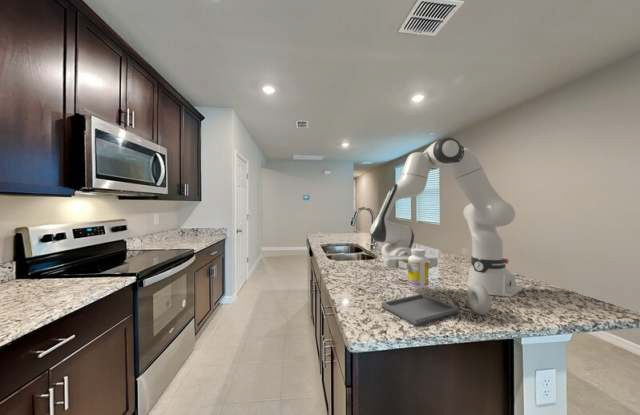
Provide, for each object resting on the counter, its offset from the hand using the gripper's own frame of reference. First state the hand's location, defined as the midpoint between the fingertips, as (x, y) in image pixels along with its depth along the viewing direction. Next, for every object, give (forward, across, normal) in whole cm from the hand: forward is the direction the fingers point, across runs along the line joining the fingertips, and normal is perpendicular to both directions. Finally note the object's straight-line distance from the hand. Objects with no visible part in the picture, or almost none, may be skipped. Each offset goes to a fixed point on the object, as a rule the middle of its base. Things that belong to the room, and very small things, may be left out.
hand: (419, 266), depth 88 cm
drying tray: (-1, 0, +16) cm, 16 cm away
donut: (+4, +19, +16) cm, 25 cm away
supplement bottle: (-1, 0, +7) cm, 7 cm away
